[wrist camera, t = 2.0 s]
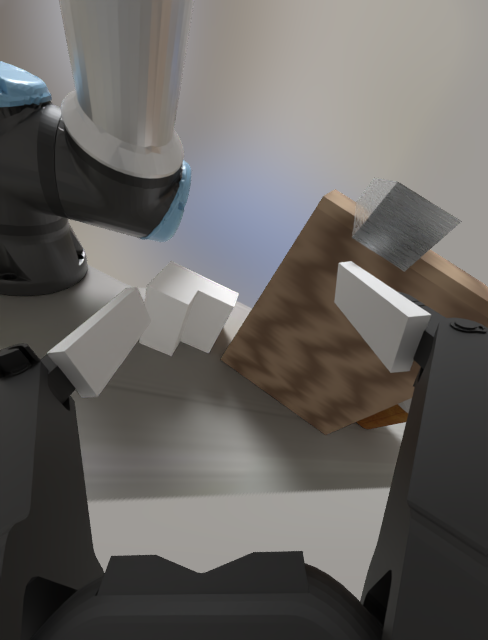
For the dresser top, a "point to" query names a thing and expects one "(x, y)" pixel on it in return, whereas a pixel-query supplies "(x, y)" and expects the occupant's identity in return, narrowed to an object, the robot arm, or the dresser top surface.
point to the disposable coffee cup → (387, 416)
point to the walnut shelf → (338, 323)
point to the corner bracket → (185, 310)
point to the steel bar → (399, 222)
